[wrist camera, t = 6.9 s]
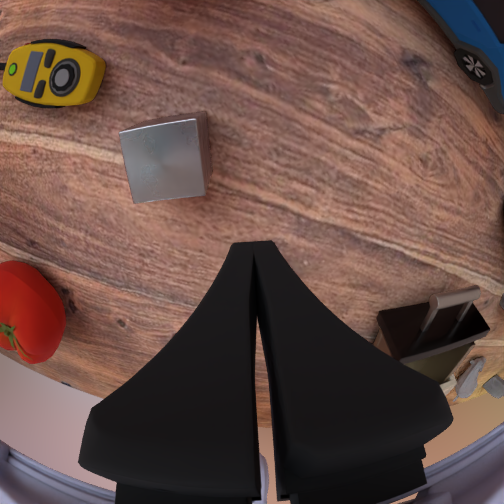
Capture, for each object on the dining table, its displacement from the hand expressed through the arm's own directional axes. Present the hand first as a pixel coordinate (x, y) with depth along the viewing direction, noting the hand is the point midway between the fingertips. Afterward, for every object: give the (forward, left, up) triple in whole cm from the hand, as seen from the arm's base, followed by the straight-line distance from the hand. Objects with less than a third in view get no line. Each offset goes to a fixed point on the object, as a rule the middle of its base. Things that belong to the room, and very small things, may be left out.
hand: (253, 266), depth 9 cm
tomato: (-23, -9, -10) cm, 27 cm away
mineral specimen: (+71, -59, -10) cm, 92 cm away
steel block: (-4, +2, -10) cm, 11 cm away
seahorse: (+45, -42, -10) cm, 62 cm away
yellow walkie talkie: (-15, +11, -10) cm, 21 cm away
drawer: (+18, -18, -9) cm, 27 cm away
